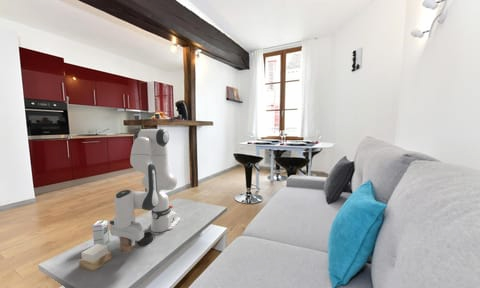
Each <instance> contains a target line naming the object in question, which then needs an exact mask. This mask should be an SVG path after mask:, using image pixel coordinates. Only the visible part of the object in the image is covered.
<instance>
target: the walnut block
mask: <svg viewBox="0 0 480 288" xmlns="http://www.w3.org/2000/svg"><path fill="white" fill-rule="evenodd" d="M131 242H132V241H131V239H128V238H123V237H120V239H119V245H120V252H121V253H124V254H125V253H126V254H130V253H131V252H132V251H133V250H135V249H136V248H137V246H136V243H135V245H134V246H130V243H131Z"/></svg>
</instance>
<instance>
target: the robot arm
mask: <svg viewBox="0 0 480 288" xmlns="http://www.w3.org/2000/svg"><path fill="white" fill-rule="evenodd" d="M169 140H170V136H169V132H168V131H167V130H166V129H162V128H160V129H158V128H145V129H142V128H141V129H137V130H136V131H135V132H134V134H133V144H132V147H131V151H130V157H129V160H130V163H129V164H130V165H131V166H132V167H133V169H134V170H136V171H138V172H140V173H142V174H143V175H144V176H143V177H142V180H141V184H142V186H143V187H144V188H145V189H146V191H138V190H130V189H123V190H120V191H118V192H117V193H116V194H115V197H114V212H115V213H116V214H115V217H113V218H112V219H110V220H108V224H109V232H110V233H109V234H110V235H111V236H115V237H118V240H120V237H123V238H128V239H131V241H132V242H131V243H130V246H134V245H135V244H136V242H138V241H139V240H141V239H142V238H143V237H144V233H145V232H144V229H143V226H142V224H140V223H139V222H136V213H135V210H145V211H148V212H149V211H151V219H150V220H151V221H150V232H152V233H162V232H165V231H170V230H173V229H174V228H175V227H176V225H177V224H178V223H179V222H180V221H181V217H180V216H178V214H177V212H175V210H172V209H173V207H174V206H173V205H171V204H170V202H169V201H170V200H169V196H168V194H166V193H165V191H172V190H175V188H176V187H177V184H178V180H177V177H176V176H175V175H174V174H173V173H172V171H171V169H170V168H169V160H168V146H167V145H168V143H169ZM169 204H170V205H169Z"/></svg>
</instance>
